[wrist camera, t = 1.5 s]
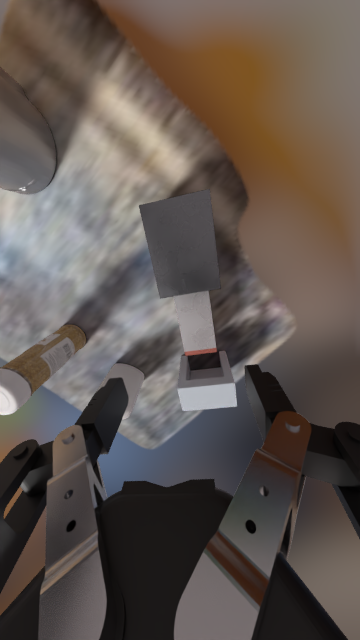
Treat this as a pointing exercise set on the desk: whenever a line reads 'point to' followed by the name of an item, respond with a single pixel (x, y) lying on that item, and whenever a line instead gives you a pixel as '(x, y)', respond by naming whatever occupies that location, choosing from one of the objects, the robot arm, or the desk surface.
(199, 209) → the sleeve
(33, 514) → the robot arm
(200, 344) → the grey square post
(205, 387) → the socket block
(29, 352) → the sprinkles bottle
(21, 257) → the desk surface
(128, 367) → the eye dropper bottle
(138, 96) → the desk surface
